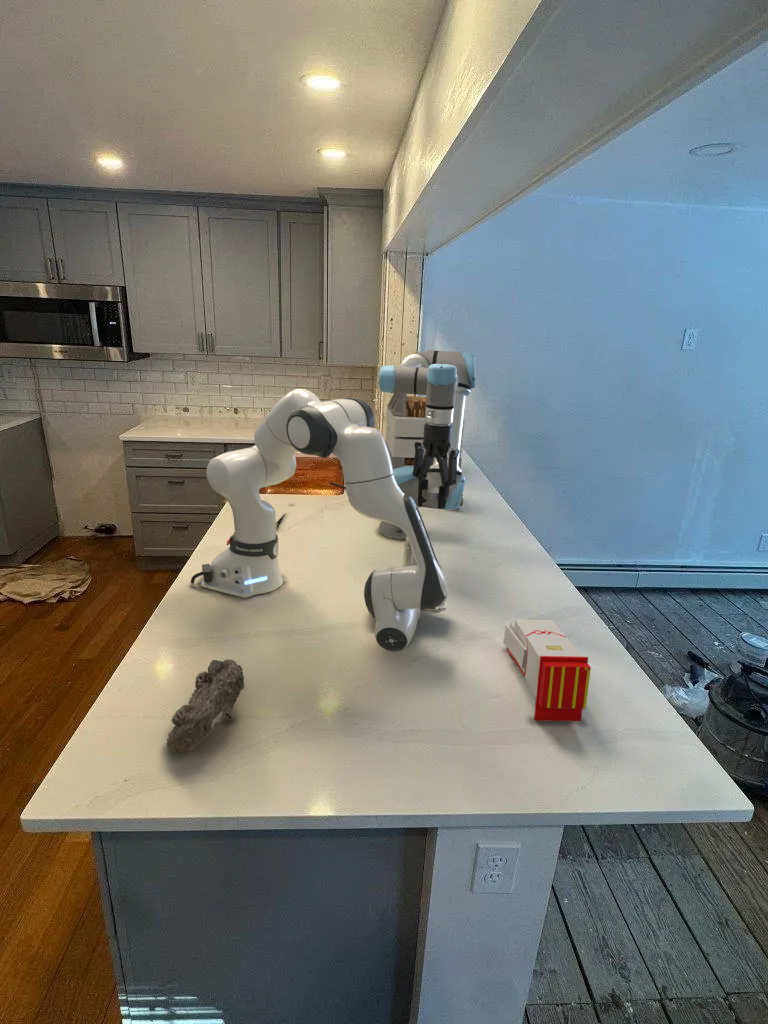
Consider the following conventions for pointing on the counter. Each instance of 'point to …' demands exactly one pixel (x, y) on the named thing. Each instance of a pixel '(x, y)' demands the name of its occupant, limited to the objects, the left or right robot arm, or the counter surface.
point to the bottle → (408, 555)
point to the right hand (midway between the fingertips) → (432, 504)
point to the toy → (549, 668)
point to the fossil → (206, 705)
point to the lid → (430, 493)
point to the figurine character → (461, 502)
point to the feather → (279, 521)
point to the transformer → (406, 429)
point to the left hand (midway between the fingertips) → (411, 581)
